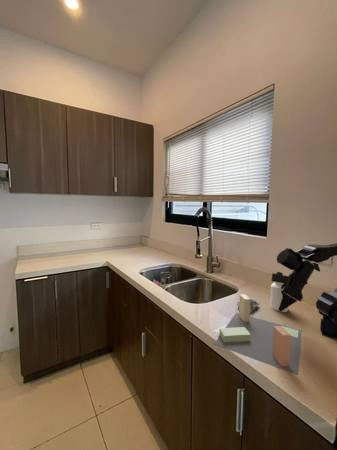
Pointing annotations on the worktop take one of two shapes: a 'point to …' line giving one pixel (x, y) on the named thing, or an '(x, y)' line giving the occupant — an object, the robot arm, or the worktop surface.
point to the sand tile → (244, 308)
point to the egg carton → (252, 302)
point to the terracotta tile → (281, 345)
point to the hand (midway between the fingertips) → (279, 310)
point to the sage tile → (234, 334)
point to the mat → (263, 342)
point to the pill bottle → (276, 296)
